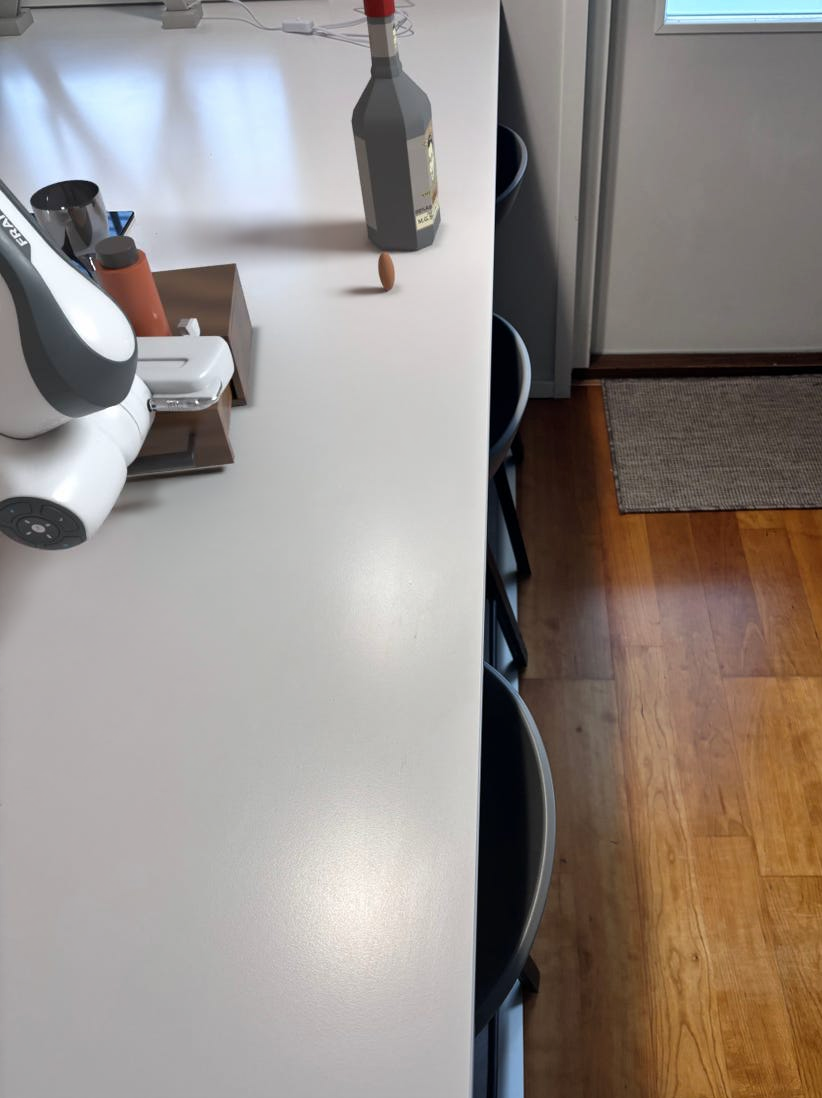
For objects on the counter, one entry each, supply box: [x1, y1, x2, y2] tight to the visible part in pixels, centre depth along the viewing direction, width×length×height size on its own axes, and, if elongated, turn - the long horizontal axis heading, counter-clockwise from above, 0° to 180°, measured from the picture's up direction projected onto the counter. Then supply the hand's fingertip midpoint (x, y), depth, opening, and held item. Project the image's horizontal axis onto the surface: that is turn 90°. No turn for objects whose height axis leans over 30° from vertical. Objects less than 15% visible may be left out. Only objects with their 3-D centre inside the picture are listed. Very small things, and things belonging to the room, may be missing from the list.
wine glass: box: [29, 179, 110, 286], centre depth 120 cm, size 8×8×15 cm
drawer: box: [126, 377, 236, 477], centre depth 103 cm, size 19×12×7 cm, turn 6°
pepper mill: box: [94, 235, 172, 337], centre depth 98 cm, size 6×6×20 cm
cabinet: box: [151, 262, 254, 407], centre depth 112 cm, size 16×14×9 cm
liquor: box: [350, 0, 442, 252], centre depth 124 cm, size 9×9×30 cm
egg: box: [377, 251, 396, 291], centre depth 124 cm, size 2×2×5 cm
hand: (145, 325), depth 97 cm, fingers open, 8 cm apart
